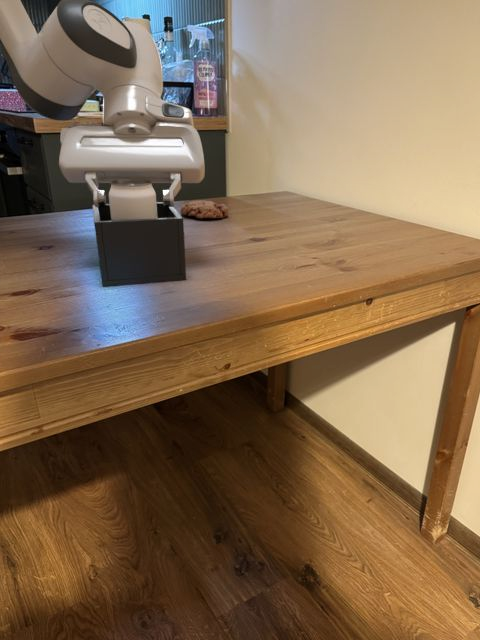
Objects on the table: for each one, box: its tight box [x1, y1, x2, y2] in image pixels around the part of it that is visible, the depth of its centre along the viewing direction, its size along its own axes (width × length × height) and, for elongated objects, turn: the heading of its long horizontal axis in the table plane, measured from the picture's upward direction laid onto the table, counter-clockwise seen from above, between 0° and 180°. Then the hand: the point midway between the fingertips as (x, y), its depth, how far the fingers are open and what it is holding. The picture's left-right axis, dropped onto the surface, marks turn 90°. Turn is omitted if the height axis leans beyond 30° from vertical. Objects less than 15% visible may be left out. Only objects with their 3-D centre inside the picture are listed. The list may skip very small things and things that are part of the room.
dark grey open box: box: [91, 201, 187, 287], centre depth 73 cm, size 12×12×9 cm
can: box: [108, 179, 158, 220], centre depth 72 cm, size 6×6×12 cm
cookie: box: [179, 199, 229, 219], centre depth 108 cm, size 10×11×3 cm
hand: (134, 204), depth 70 cm, fingers open, 8 cm apart
